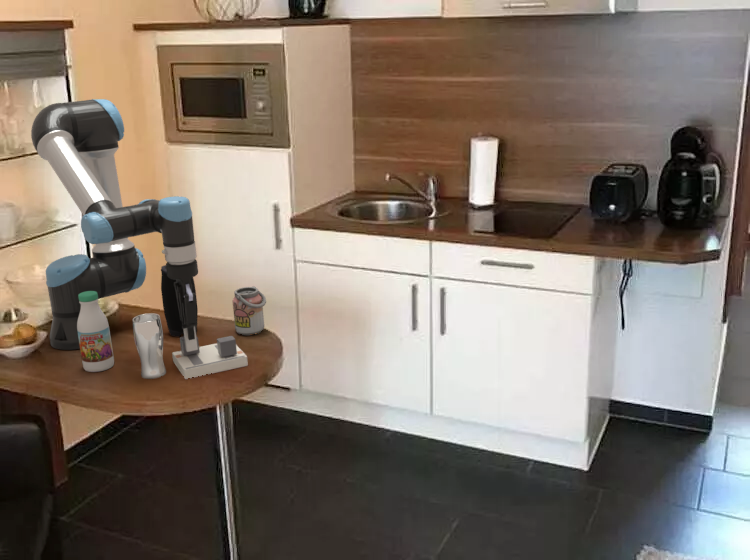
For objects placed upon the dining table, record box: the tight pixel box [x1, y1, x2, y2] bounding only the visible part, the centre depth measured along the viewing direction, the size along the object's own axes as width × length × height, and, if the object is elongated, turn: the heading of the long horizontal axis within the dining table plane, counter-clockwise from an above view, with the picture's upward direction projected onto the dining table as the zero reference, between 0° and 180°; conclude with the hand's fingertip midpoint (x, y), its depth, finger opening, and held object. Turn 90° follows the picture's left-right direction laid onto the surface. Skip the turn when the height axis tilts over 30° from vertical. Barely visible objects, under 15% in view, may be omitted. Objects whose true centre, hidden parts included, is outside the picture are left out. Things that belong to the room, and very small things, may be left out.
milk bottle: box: [77, 291, 115, 373], centre depth 211 cm, size 8×8×20 cm
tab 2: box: [216, 335, 237, 357], centre depth 210 cm, size 3×4×4 cm
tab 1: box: [179, 335, 200, 356], centre depth 212 cm, size 3×4×4 cm
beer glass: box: [132, 312, 167, 380], centre depth 206 cm, size 7×7×15 cm
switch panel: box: [171, 342, 249, 380], centre depth 212 cm, size 13×16×3 cm
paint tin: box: [232, 285, 267, 336], centre depth 232 cm, size 9×8×12 cm
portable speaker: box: [160, 264, 198, 338], centre depth 232 cm, size 9×9×20 cm
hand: (191, 349), depth 210 cm, fingers closed
